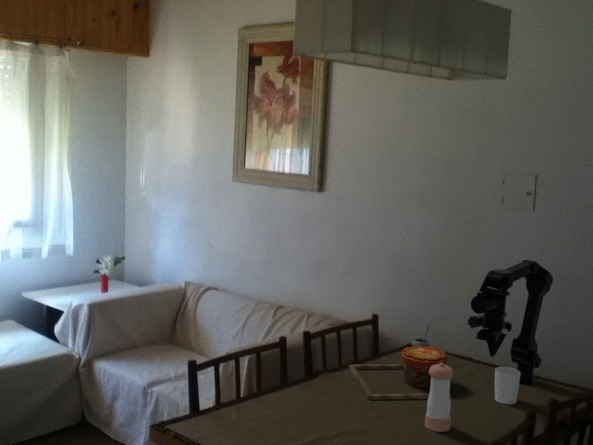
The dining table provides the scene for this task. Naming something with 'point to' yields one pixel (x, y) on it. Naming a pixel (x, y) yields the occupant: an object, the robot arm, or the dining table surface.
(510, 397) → the white cup
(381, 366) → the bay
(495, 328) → the robot arm
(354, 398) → the dining table surface
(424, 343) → the mate gourd
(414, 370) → the food container
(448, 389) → the pepper shaker
